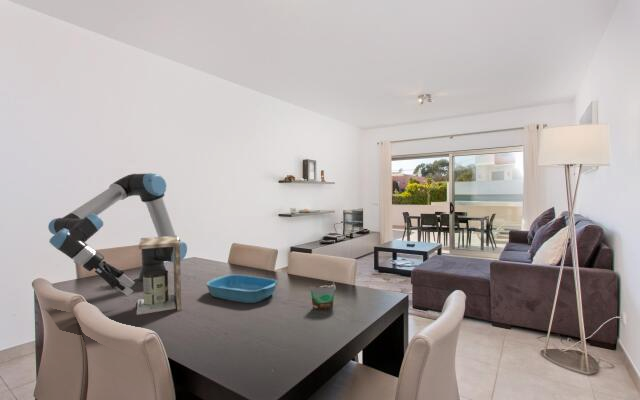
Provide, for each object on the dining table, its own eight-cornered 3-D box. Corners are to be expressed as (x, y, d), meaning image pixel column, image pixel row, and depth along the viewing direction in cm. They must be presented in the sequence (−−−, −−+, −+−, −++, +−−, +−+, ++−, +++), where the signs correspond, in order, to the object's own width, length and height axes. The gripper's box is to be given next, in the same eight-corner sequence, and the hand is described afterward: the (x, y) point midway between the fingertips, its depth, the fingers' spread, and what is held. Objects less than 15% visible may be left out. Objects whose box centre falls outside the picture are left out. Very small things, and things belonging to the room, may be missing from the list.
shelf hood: (140, 316, 134) (138, 245, 133) (142, 299, 155) (140, 238, 154) (181, 310, 141) (179, 242, 140) (177, 294, 162) (176, 235, 162)
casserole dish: (197, 297, 159) (197, 282, 159) (229, 285, 179) (229, 272, 179) (258, 309, 143) (258, 292, 142) (285, 294, 163) (285, 280, 162)
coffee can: (156, 298, 154) (155, 268, 153) (173, 300, 150) (173, 270, 150) (137, 305, 144) (137, 274, 144) (155, 308, 141) (155, 275, 140)
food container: (316, 313, 136) (315, 289, 136) (309, 308, 142) (309, 286, 142) (341, 308, 142) (341, 285, 142) (334, 303, 147) (334, 282, 147)
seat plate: (136, 314, 136) (136, 308, 136) (138, 301, 152) (138, 296, 152) (175, 308, 143) (175, 303, 143) (173, 296, 159) (173, 291, 159)
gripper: (86, 260, 145) (126, 288, 152) (75, 272, 123) (122, 304, 130) (100, 247, 147) (139, 275, 155) (92, 257, 125) (137, 289, 133)
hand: (131, 289), depth 143 cm, fingers open, 13 cm apart
